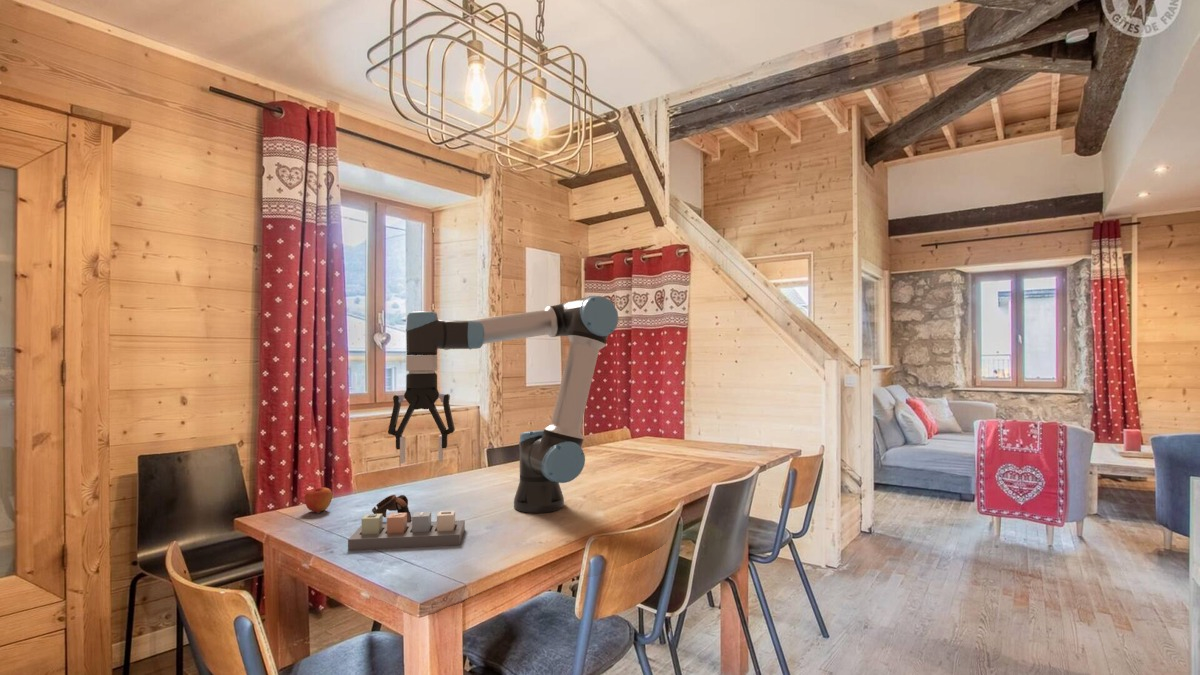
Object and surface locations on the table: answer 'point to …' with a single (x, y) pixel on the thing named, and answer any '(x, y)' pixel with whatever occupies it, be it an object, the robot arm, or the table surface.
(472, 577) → the table surface
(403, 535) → the keypad board
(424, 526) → the slate key
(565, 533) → the table surface
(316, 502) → the apple
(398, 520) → the terracotta key
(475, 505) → the table surface
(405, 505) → the dark brown curved piece
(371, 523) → the sage key
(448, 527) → the cream key
